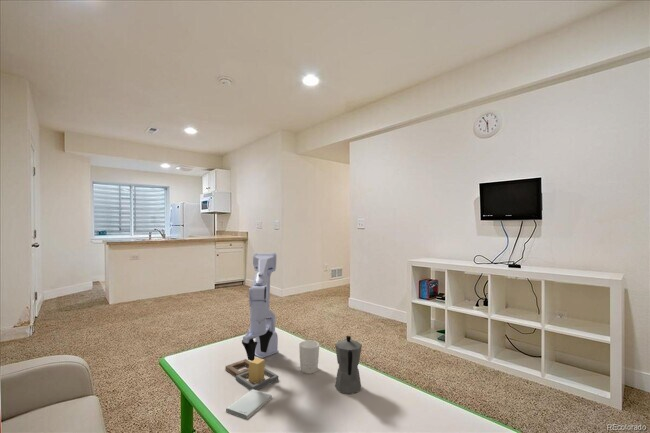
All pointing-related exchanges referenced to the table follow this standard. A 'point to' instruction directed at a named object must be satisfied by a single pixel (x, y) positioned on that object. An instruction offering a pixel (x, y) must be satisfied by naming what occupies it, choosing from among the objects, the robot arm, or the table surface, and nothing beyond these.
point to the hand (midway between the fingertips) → (257, 355)
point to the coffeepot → (348, 366)
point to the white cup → (309, 356)
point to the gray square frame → (261, 384)
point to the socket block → (232, 367)
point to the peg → (256, 370)
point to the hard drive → (249, 403)
